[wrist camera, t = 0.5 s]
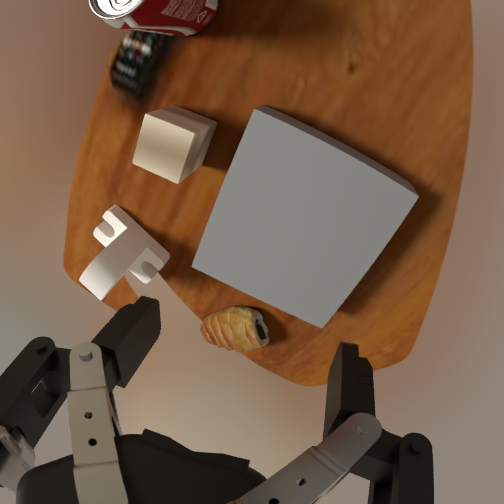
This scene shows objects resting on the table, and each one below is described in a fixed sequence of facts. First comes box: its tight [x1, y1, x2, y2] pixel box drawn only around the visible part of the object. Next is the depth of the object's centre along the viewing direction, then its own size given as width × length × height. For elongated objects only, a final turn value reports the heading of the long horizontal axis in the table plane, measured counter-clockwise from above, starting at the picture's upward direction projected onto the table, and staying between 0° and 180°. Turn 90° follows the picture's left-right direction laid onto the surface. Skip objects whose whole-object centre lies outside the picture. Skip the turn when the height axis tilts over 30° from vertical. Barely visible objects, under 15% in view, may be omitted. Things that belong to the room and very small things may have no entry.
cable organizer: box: [79, 205, 170, 301], centre depth 36 cm, size 5×10×10 cm, turn 47°
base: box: [191, 105, 419, 328], centre depth 32 cm, size 18×16×4 cm
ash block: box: [133, 105, 218, 184], centre depth 29 cm, size 5×5×6 cm
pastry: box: [200, 306, 269, 352], centre depth 42 cm, size 9×7×4 cm
